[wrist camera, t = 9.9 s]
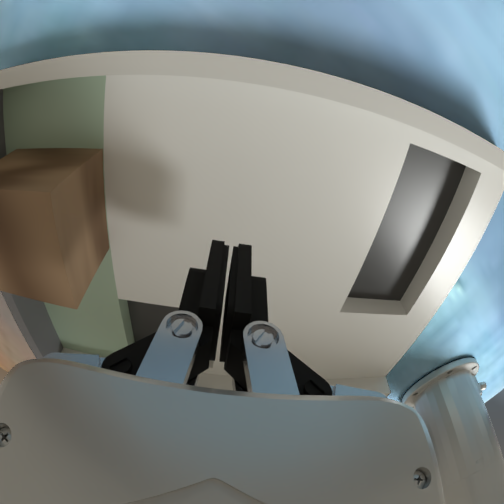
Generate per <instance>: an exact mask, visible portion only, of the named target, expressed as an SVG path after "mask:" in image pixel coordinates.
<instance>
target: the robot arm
mask: <svg viewBox="0 0 504 504" xmlns="http://www.w3.org/2000/svg"><path fill="white" fill-rule="evenodd" d="M224 244H225V241H218V240H212V243H211V248H210V253H209V258H208V262H207V267H206V270H205V269H198V268H191V267H190V269H189V272H188V275H187V279H186V283H185V287H184V291H183V294H182V298H181V302H180V306H179V310H178V311H174V312H171V313H169V314H168V315H166V316H165V317H164V319H163V320H162V322H161V324H160V326H159V328H158V330H157V332H155V333H153V334H151V335H149V336H147V337H145V338H143V339H141V340H138V341H136V342H134V343H132V344H130V345H128V346H126V347H124V348H122V349H120V350H118V351H116V352H113V353H111V354H110V355H108V356H107V357H106V358H103V357H100V356H99V355H93V354H72V353H57V352H55V353H50V354H47V355H45V357H44V358H41V359H31V360H26V361H23V362H20V363H18V364H17V365H15V366H14V367H13V368H12V369H11V370H10V371H9V372H8V374H7V375H6V377H5V378H4V380H3V381H2V383H1V385H0V504H504V459H503V456H502V453H501V450H500V447H499V443H498V440H497V437H496V435H495V431H494V428H493V426H492V423H491V420H490V418H489V415H488V412H487V410H486V407H485V405H484V402H483V400H482V397H481V395H482V390H485V388H486V383H485V382H480V383H478V382H477V379H476V377H475V375H476V374H477V372H478V369H479V364H478V362H477V361H476V359H474V358H462V359H459V360H456V361H453V362H451V363H448V364H446V365H444V366H442V367H440V368H438V369H437V370H435V371H433V372H431V373H430V374H428V375H427V376H425V377H424V378H422V379H421V380H419V381H418V382H417V383H416V384H414V385H413V386H412V387H411V388H410V389H409V390H408V391H407V392H406V393H405V395H404V396H403V398H402V402H398V401H395V400H392V399H388V398H387V397H386V396H385V395H384V394H382V393H379V392H376V391H370V390H365V389H359V388H354V387H349V386H344V385H339V384H336V385H335V386H332V385H329V383H328V382H327V381H326V380H325V379H323V378H322V377H321V376H320V375H318V374H317V373H316V372H315V371H313V370H312V369H311V368H310V367H308V366H307V365H306V364H305V363H303V362H302V361H301V360H300V359H298V358H297V357H296V356H295V355H293V354H292V353H291V352H290V351H288V350H287V347H286V344H285V340H284V336H283V334H282V332H281V330H280V329H279V328H278V327H277V326H275V325H274V324H272V323H269V322H268V304H267V285H266V278H264V277H256V276H252V245H246V244H239V245H238V247H236V246H233V252H232V258H231V264H230V271H229V277H228V283H227V290H226V297H225V306H224V316H223V326H222V337H221V348H220V359H219V362H224V370H225V371H226V372H227V373H228V374H229V375H230V376H231V377H232V386H233V390H223V389H215V388H207V387H199V386H196V385H197V382H198V379H199V374H200V373H202V372H204V371H205V370H207V369H209V361H210V360H211V361H215V357H216V350H217V343H218V336H219V329H220V322H221V315H222V307H223V298H224V289H225V280H226V271H227V262H228V254H229V245H224Z"/></svg>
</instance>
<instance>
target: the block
mask: <svg viewBox="0 0 504 504" xmlns="http://www.w3.org/2000/svg"><path fill="white" fill-rule="evenodd" d="M108 250H109V239H108V230H107V220H106V209H105V195H104V176H103V149H92V148H31V149H16V150H14V151H12V152H11V153H9V154H8V155H6V156H4V157H3V158H1V159H0V291H4V292H7V293H11V294H15V295H18V296H22V297H26V298H30V299H34V300H38V301H42V302H46V303H50V304H54V305H59V306H63V307H67V308H72V309H78V307H79V305H80V303H81V301H82V299H83V297H84V295H85V293H86V291H87V289H88V287H89V285H90V283H91V281H92V279H93V277H94V275H95V273H96V272H97V270H98V268H99V266H100V264H101V262H102V261H103V259H104V257H105V255H106V253H107V252H108Z"/></svg>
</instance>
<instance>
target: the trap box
mask: <svg viewBox="0 0 504 504" xmlns="http://www.w3.org/2000/svg"><path fill="white" fill-rule="evenodd" d="M31 148H92V149H103V176H104V195H105V209H106V220H107V230H108V239H109V250H108V252H107V253H106V255H105V257H104V259H103V261H102V262H101V264H100V266H99V268H98V270H97V272H96V273H95V275H94V277H93V279H92V281H91V283H90V285H89V287H88V289H87V291H86V293H85V295H84V297H83V299H82V301H81V303H80V305H79V307H78V309H72V308H67V307H63V306H59V305H54V304H50V303H46V302H42V301H38V300H34V299H30V298H26V297H22V296H18V295H15V294H11V293H7V292H4V291H1V292H2V294H3V296H4V299H5V301H6V303H7V305H8V307H9V309H10V311H11V313H12V315H13V317H14V319H15V321H16V323H17V325H18V327H19V329H20V331H21V333H22V334H23V336H24V338H25V340H26V342H27V343H28V345H29V347H30V348H31V350H32V352H33V354H34V355H35V357H36V358H37V359H41V358H44V357H45V355H47V354H50V353H55V352H57V353H72V354H93V355H99V356H100V357H103V358H106V357H107V356H108V355H110V354H111V353H113V352H116V351H118V350H120V349H122V348H124V347H126V346H128V345H130V344H132V343H134V342H136V341H138V340H141V339H143V338H145V337H147V336H149V335H151V334H153V333H155V332H157V330H158V328H159V326H160V324H161V322H162V320H163V319H164V317H165V316H166V315H168V314H169V313H171V312H174V311H178V310H179V306H180V302H181V298H182V294H183V291H184V287H185V283H186V279H187V275H188V272H189V269H190V267H191V268H198V269H205V270H206V267H207V262H208V258H209V253H210V248H211V243H212V240H218V241H225V244H224V245H229V254H228V262H227V271H226V280H225V289H224V298H223V307H222V315H221V322H220V329H219V336H218V343H217V350H216V357H215V361H211V360H210V361H209V369H207V370H205V371H204V372H202V373H200V374H199V379H198V382H197V385H196V386H199V387H207V388H215V389H223V390H233V386H232V377H231V376H230V375H229V374H228V373H227V372H226V371H225V370H224V362H219V359H220V348H221V337H222V326H223V316H224V306H225V297H226V290H227V283H228V277H229V271H230V264H231V258H232V252H233V246H236V247H238V245H239V244H246V245H252V276H256V277H264V278H266V285H267V304H268V322H269V323H272V324H274V325H275V326H277V327H278V328H279V329H280V330H281V332H282V334H283V336H284V340H285V344H286V347H287V350H288V351H290V352H291V353H292V354H293V355H295V356H296V357H297V358H298V359H300V360H301V361H302V362H303V363H305V364H306V365H307V366H308V367H310V368H311V369H312V370H313V371H315V372H316V373H317V374H318V375H320V376H321V377H322V378H323V379H325V380H326V381H327V382H328V383H329V385H332V386H335V385H336V384H339V385H344V386H349V387H354V388H359V389H365V390H370V391H376V392H379V393H382V394H384V395H385V396H386V397H387V396H388V395H389V394H390V393H391V392H390V388H389V385H388V382H387V379H386V375H387V374H388V373H389V372H390V371H391V370H392V368H393V367H394V366H395V365H396V364H397V362H398V361H399V360H400V359H401V358H402V356H403V355H404V354H405V353H406V352H407V350H408V349H409V348H410V347H411V345H412V344H413V343H414V342H415V340H416V339H417V338H418V336H419V335H420V334H421V332H422V331H423V330H424V328H425V327H426V326H427V324H428V323H429V322H430V320H431V319H432V317H433V316H434V315H435V313H436V312H437V310H438V309H439V307H440V306H441V304H442V303H443V302H444V300H445V299H446V297H447V296H448V294H449V292H450V291H451V289H452V288H453V286H454V285H455V283H456V281H457V280H458V278H459V277H460V275H461V273H462V272H463V270H464V268H465V267H466V265H467V263H468V261H469V260H470V258H471V256H472V254H473V253H474V251H475V249H476V247H477V245H478V243H479V241H480V240H481V238H482V236H483V234H484V232H485V230H486V228H487V226H488V224H489V222H490V220H491V218H492V216H493V213H494V211H495V209H496V207H497V205H498V202H499V200H500V198H501V196H502V193H503V191H504V151H503V150H501V149H500V148H498V147H496V146H495V145H493V144H492V143H490V142H488V141H487V140H485V139H483V138H481V137H480V136H478V135H476V134H474V133H473V132H471V131H469V130H467V129H465V128H463V127H462V126H460V125H458V124H456V123H454V122H452V121H450V120H448V119H446V118H444V117H442V116H440V115H438V114H436V113H433V112H431V111H429V110H427V109H425V108H422V107H420V106H418V105H415V104H413V103H411V102H408V101H406V100H403V99H401V98H398V97H396V96H393V95H391V94H388V93H385V92H383V91H380V90H377V89H374V88H371V87H368V86H365V85H362V84H359V83H356V82H353V81H350V80H347V79H343V78H340V77H336V76H333V75H329V74H326V73H322V72H318V71H314V70H310V69H306V68H301V67H297V66H292V65H288V64H283V63H278V62H272V61H267V60H261V59H255V58H248V57H241V56H233V55H225V54H216V53H204V52H190V51H166V50H138V51H114V52H100V53H89V54H80V55H72V56H65V57H59V58H53V59H47V60H42V61H36V62H32V63H27V64H23V65H18V66H14V67H10V68H6V69H3V70H0V159H1V158H3V157H4V156H6V155H8V154H9V153H11V152H12V151H14V150H16V149H31Z"/></svg>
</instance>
